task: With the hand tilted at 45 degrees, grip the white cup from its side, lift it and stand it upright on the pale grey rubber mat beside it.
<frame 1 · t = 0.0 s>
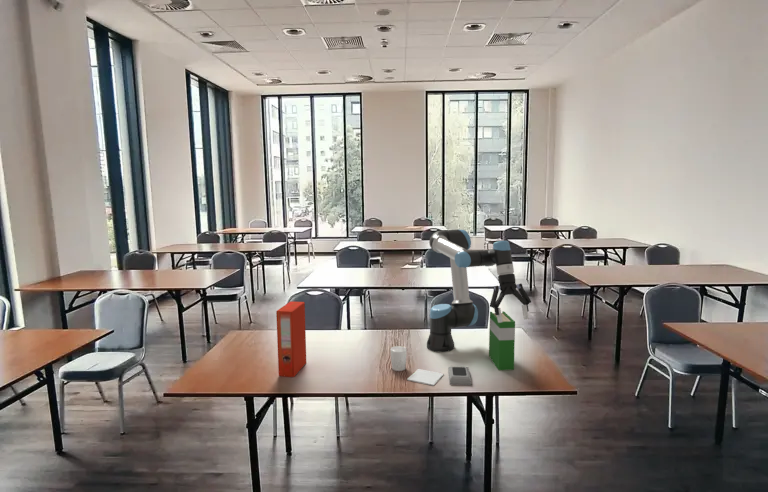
hand: (513, 321, 206), 28 cm above the table, tool tilted 20°, fingers open, 13 cm apart
grey box: (459, 378, 213), on the table
mat: (425, 377, 213), on the table
file binder: (293, 369, 225), on the table
hardback book: (500, 363, 230), on the table
white cup: (398, 368, 224), on the table
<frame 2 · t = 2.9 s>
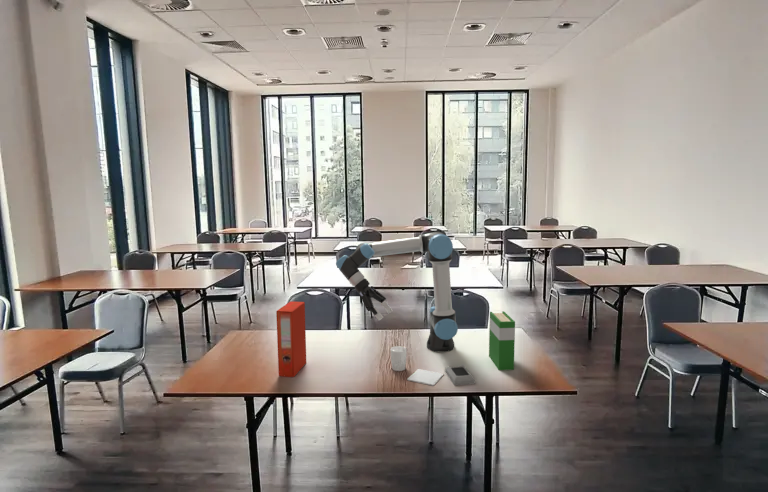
hand: (386, 315, 226), 25 cm above the table, tool tilted 40°, fingers open, 13 cm apart
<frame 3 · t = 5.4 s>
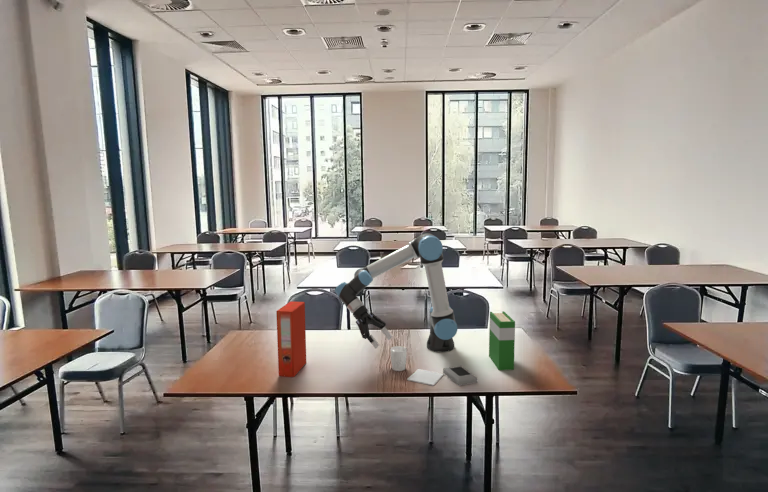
hand: (384, 342, 226), 12 cm above the table, tool tilted 45°, fingers open, 13 cm apart
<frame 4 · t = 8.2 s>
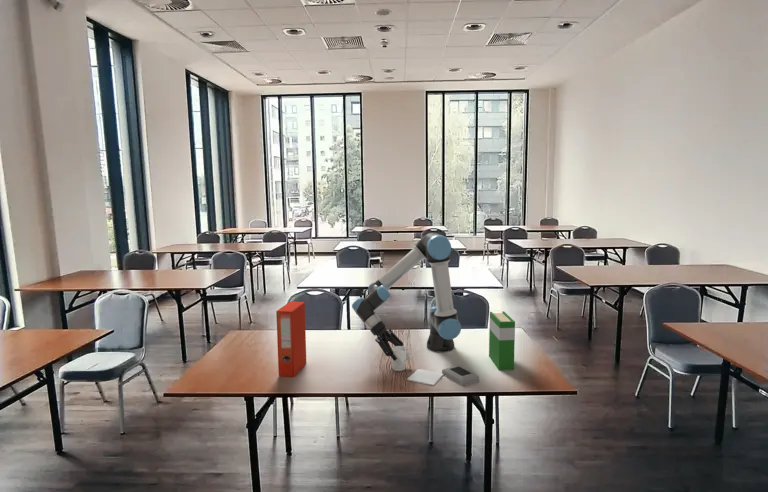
hand: (404, 361, 222), 4 cm above the table, tool tilted 45°, fingers closed on white cup, 8 cm apart
white cup: (398, 368, 224), on the table, touching gripper
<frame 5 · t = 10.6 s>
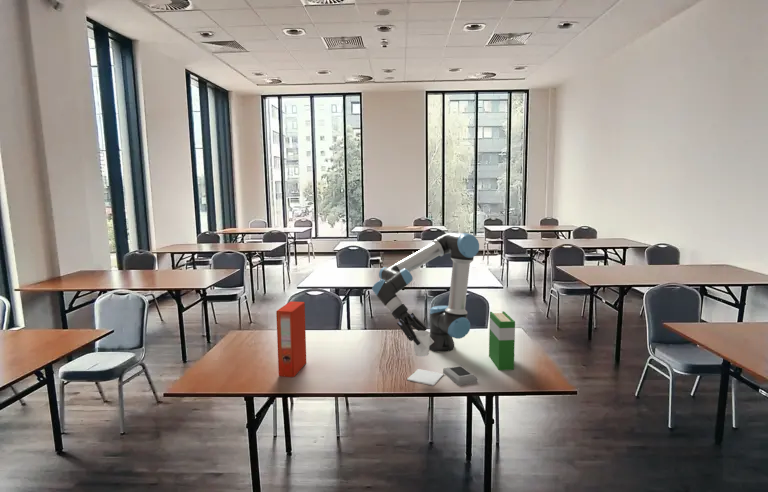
hand: (428, 346, 210), 15 cm above the table, tool tilted 45°, fingers closed on white cup, 8 cm apart
white cup: (421, 354, 213), point 11 cm above the table, touching gripper
when the fingers open (6 cm above the table, at t = 12.9 s): white cup drops 1 cm, resting on mat.
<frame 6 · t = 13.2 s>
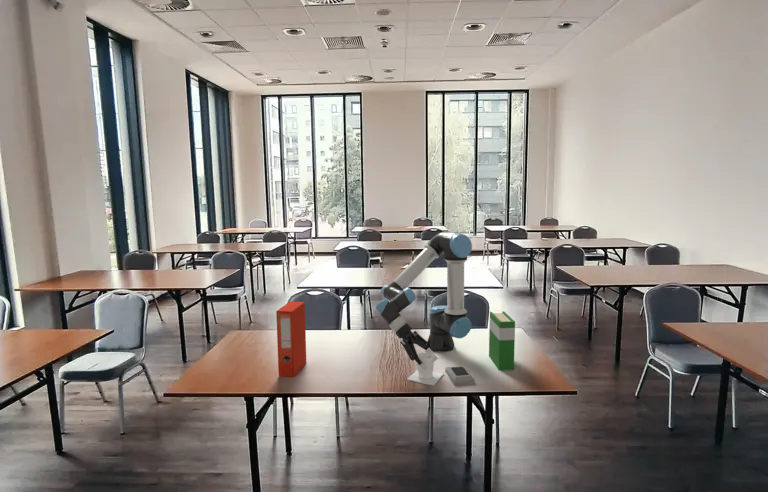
hand: (431, 364, 211), 7 cm above the table, tool tilted 45°, fingers open, 11 cm apart
white cup: (425, 376, 213), resting on mat
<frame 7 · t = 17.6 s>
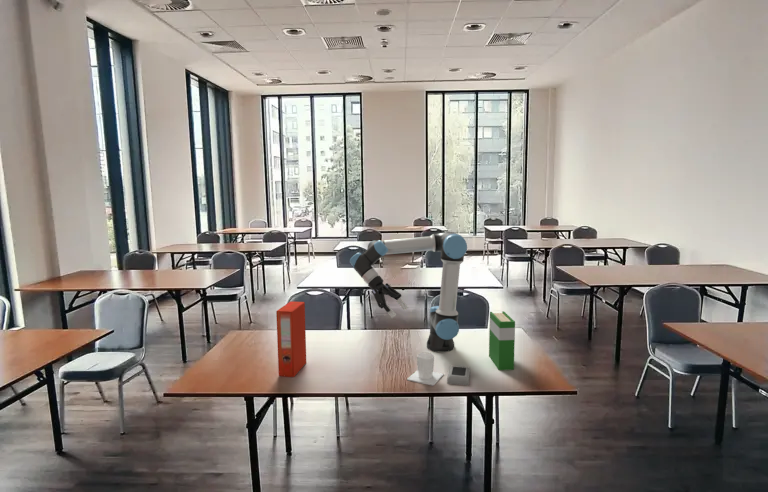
hand: (400, 312, 222), 28 cm above the table, tool tilted 45°, fingers open, 13 cm apart
at the end: white cup inside the target area on the mat (0.1 cm from its centre), point 0.4 cm above the mat's base; white cup tilted 0°; the gripper is holding nothing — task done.
